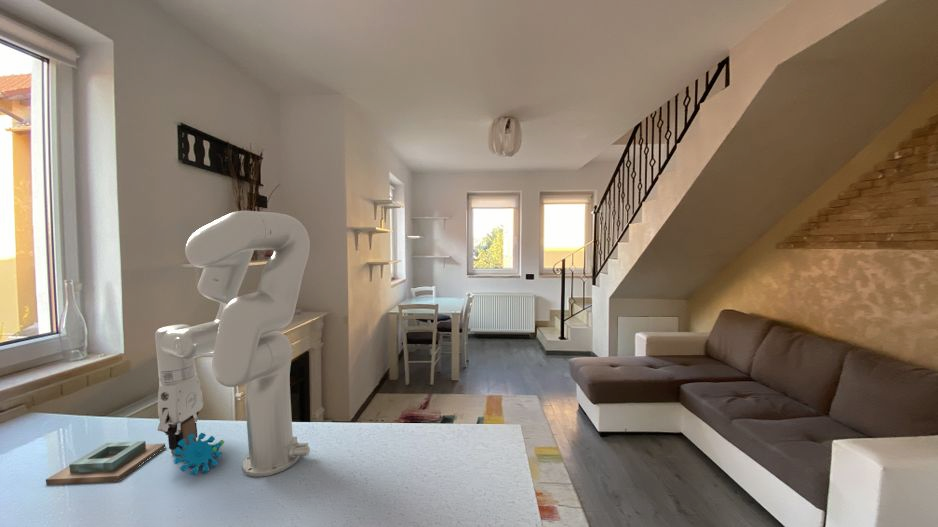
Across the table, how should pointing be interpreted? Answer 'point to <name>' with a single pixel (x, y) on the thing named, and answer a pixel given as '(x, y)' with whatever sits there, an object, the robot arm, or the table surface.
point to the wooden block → (187, 430)
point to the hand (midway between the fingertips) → (183, 442)
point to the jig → (106, 463)
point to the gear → (197, 453)
